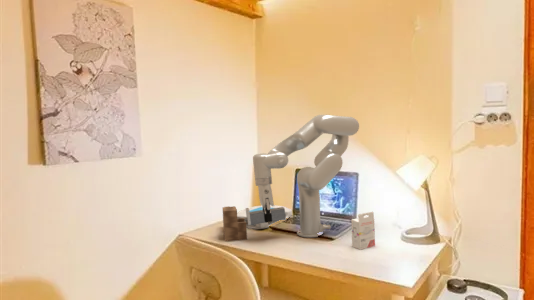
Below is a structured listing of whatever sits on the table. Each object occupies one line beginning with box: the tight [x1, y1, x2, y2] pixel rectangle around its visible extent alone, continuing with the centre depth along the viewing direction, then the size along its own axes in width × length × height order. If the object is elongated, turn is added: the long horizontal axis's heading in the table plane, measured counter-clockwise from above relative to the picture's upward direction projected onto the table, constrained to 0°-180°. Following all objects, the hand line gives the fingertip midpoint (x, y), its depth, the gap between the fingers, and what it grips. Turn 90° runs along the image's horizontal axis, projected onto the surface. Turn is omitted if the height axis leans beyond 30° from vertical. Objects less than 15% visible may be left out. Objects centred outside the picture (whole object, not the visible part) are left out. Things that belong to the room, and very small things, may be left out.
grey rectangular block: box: [245, 207, 286, 225], centre depth 173 cm, size 17×4×7 cm, turn 100°
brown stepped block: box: [222, 206, 248, 242], centre depth 184 cm, size 10×22×14 cm, turn 10°
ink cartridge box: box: [350, 211, 376, 250], centre depth 159 cm, size 9×5×15 cm, turn 117°
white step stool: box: [237, 204, 293, 230], centre depth 204 cm, size 21×28×6 cm
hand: (267, 220), depth 173 cm, fingers closed on grey rectangular block, 3 cm apart
